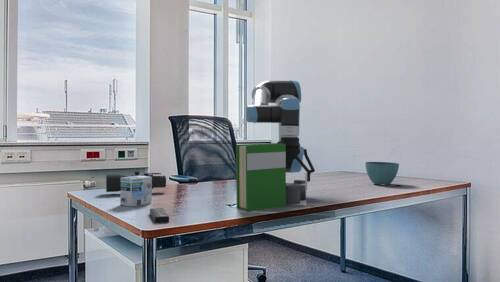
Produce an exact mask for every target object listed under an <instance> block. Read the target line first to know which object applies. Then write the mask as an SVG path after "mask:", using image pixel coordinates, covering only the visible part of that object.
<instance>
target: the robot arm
mask: <svg viewBox="0 0 500 282" xmlns="http://www.w3.org/2000/svg"><path fill="white" fill-rule="evenodd" d="M301 91H302V89H301V85H300V82H299V81H297V80H265V81H262V82H261V83H259V84H256V86H254V87H253V89H252V91H251V99H252V103H251V104H250V105H247V106H246V107H245V108H246V109H245V118H246V119H245V120H246V122H247V123H251V124H252V123H253V124H261V123H262V124H263V123H264V124H266V123H267V124H269V123H270V124H278V141H277V142H276V143H278V144H286V173H289V174H290V173H291V174H293V173H300V172H301V171H302V168H303V169H304V171H305V172H306V173H305V174H304V175H305V176H304V177H305V179H304V180H305V190H306V191H307V190H308V182H309V183H310V182H311V174H312V173H314V172H316V169H315V167H314V165H313V164H312V162H311V159H310V157H309V156H308V150H307V148H305V147H303V146H301V144H300V137H299V136H300V117H301V116H300V109H301V105H300V103H301V102H302V92H301ZM269 104H271V105H269ZM304 158H305V160H306V162H307V164H308V166H309V168H310V169H309V168H308V166H307V165H306V164H305V163H304V162H303V159H304Z"/></svg>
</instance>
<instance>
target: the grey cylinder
mask: <svg viewBox="0 0 500 282" xmlns="http://www.w3.org/2000/svg"><path fill="white" fill-rule="evenodd" d="M286 204H288V206H289V205H290V206H291V205H292V206H293V204H300V184H296V183H294V182H286Z"/></svg>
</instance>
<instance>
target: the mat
mask: <svg viewBox="0 0 500 282" xmlns="http://www.w3.org/2000/svg"><path fill="white" fill-rule="evenodd" d="M287 205H288V204H286V206H287ZM293 205H294V206H307V199H306V200H303V201H300V204H293ZM293 205H292V206H293ZM288 206H289V205H288Z"/></svg>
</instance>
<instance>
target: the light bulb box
mask: <svg viewBox="0 0 500 282" xmlns="http://www.w3.org/2000/svg"><path fill="white" fill-rule="evenodd" d="M141 175H142V174H141ZM141 175H140V174H139V176H135V175H133V176H132V175H131V176H132V177H131V176H129V177H122V178H121V187H120V191H119V192H120V195H119V196H120V202H119V203H120V206H126V207H130V208H132V207H137V206H138V207H139V206H144V205H149V204H152V195H153V193H152V192H153V191H152V190H153V189H152V177H149V176H141Z"/></svg>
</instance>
